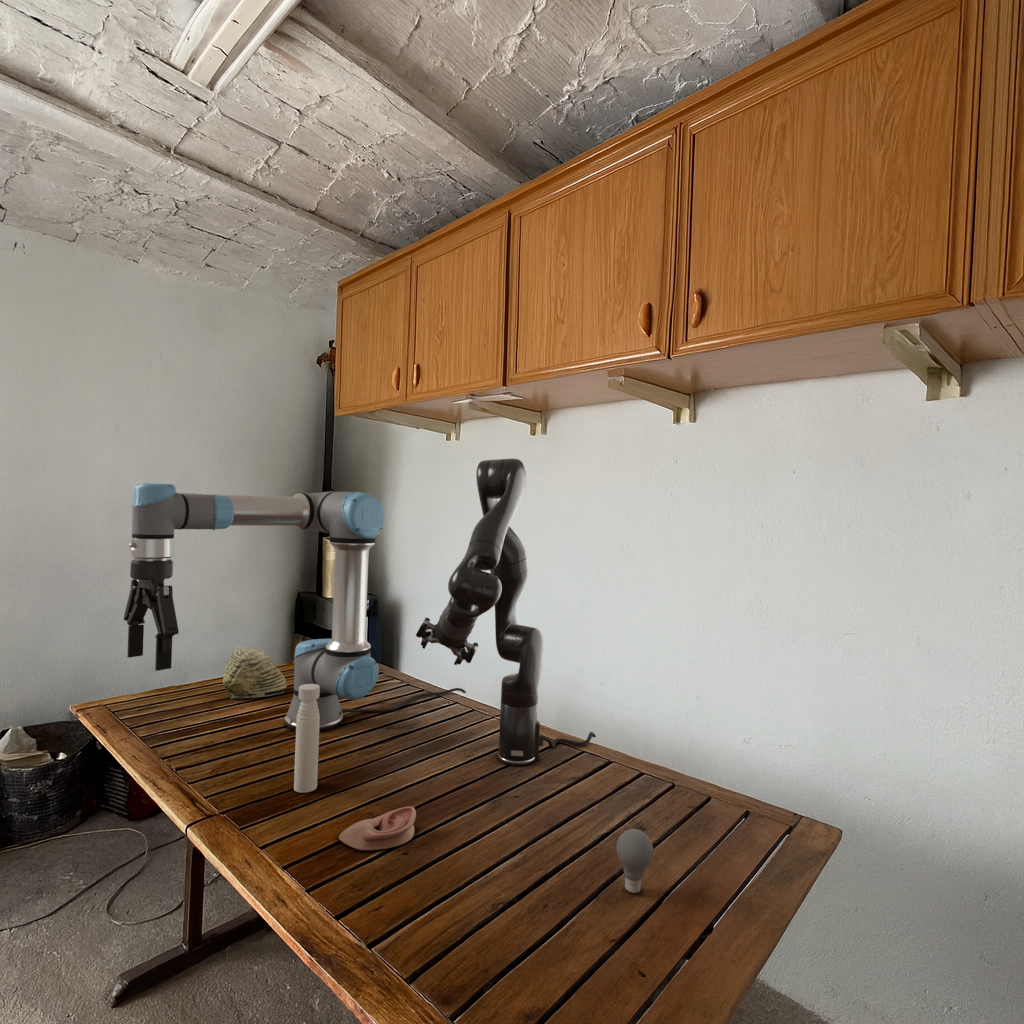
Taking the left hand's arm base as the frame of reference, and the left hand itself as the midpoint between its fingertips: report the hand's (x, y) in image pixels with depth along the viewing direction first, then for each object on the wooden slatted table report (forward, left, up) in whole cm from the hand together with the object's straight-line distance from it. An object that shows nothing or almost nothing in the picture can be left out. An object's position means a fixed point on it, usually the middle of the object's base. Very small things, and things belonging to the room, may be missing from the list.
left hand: (148, 662), depth 129 cm
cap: (-25, +19, -6) cm, 32 cm away
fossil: (-50, -47, -28) cm, 74 cm away
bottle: (-25, +19, -28) cm, 42 cm away
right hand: (-53, +31, -1) cm, 61 cm away
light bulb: (-41, +90, -28) cm, 103 cm away
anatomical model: (-23, +46, -28) cm, 58 cm away
